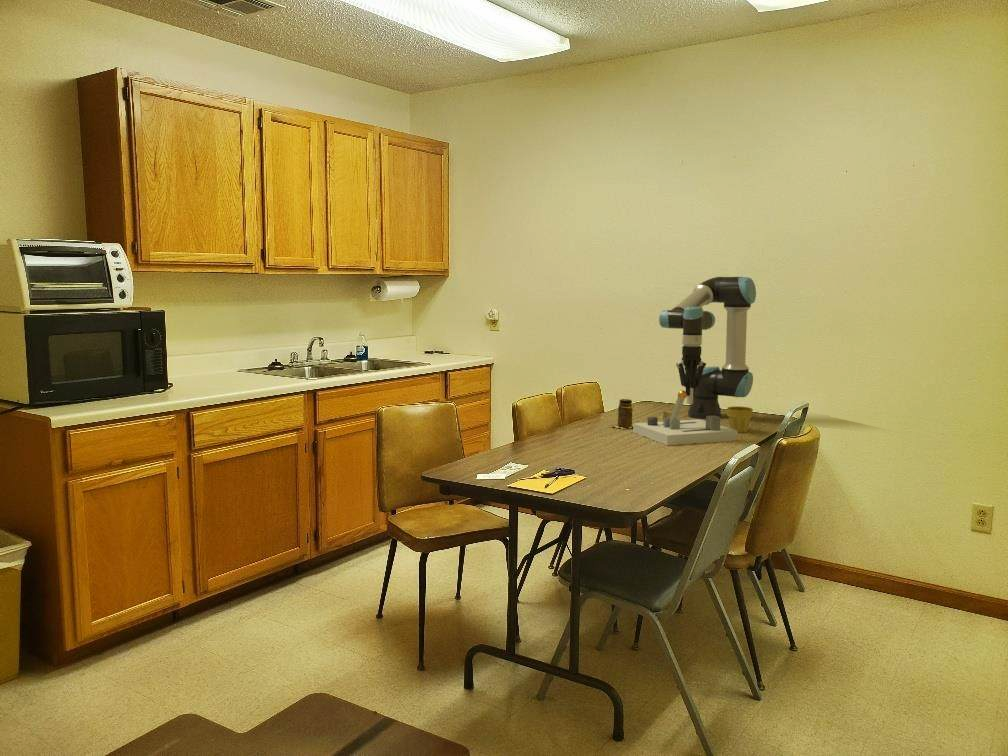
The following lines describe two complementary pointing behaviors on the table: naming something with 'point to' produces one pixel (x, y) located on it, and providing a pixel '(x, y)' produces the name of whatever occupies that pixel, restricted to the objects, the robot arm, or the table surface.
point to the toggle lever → (678, 405)
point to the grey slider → (713, 422)
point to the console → (682, 431)
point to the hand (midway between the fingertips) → (689, 403)
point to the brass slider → (666, 414)
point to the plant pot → (739, 417)
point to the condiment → (625, 413)
